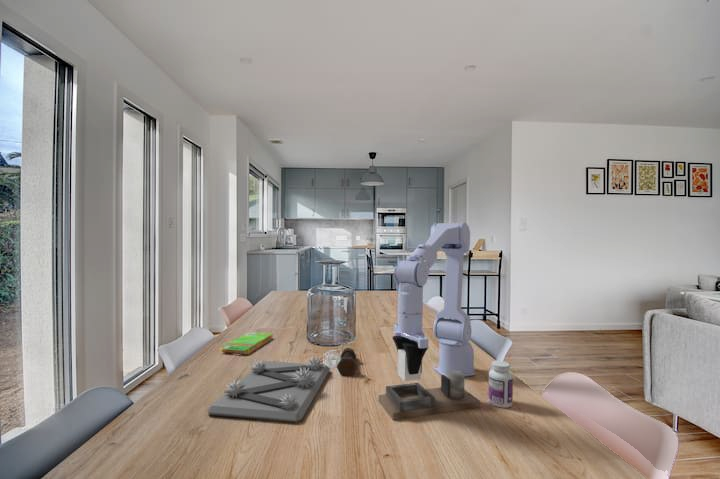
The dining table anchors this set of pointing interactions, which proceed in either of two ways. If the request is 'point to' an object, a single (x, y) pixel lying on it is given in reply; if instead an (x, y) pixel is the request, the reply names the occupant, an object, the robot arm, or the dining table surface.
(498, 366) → the pill bottle
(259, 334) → the game box
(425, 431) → the dining table surface
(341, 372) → the bolt
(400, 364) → the white block
